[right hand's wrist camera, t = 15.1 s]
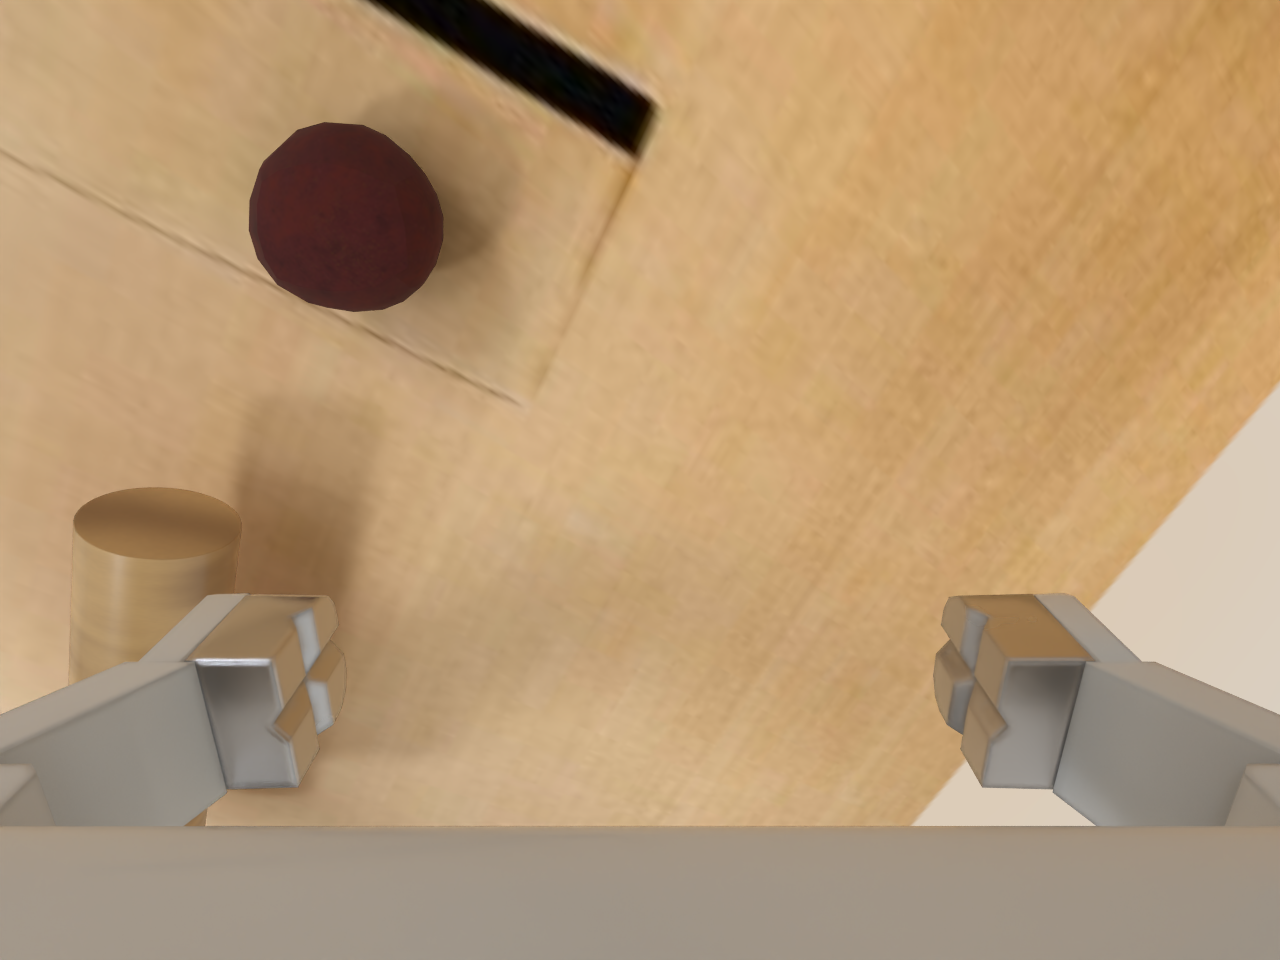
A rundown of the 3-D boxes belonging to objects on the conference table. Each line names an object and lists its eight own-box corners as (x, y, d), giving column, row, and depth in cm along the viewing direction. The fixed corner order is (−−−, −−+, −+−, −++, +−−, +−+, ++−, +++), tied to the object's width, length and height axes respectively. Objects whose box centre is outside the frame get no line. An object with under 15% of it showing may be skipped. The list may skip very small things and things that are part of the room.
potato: (467, 295, 36) (430, 323, 30) (304, 299, 36) (231, 327, 30) (450, 124, 34) (404, 113, 27) (273, 129, 34) (185, 118, 27)
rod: (132, 474, 35) (35, 533, 30) (266, 510, 36) (196, 574, 30) (110, 840, 44) (31, 940, 38) (218, 864, 45) (157, 965, 39)
